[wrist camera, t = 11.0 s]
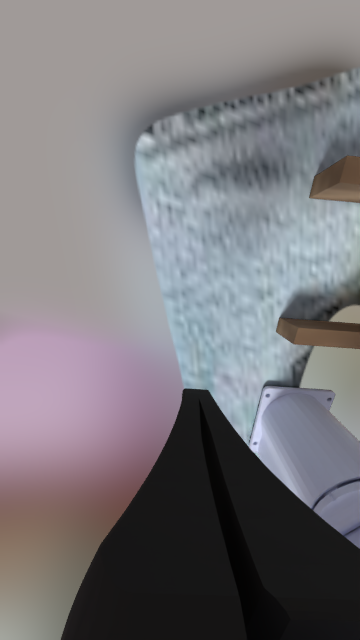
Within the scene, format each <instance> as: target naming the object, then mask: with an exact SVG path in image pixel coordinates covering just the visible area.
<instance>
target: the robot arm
mask: <svg viewBox="0 0 360 640" xmlns="http://www.w3.org/2000/svg"><path fill="white" fill-rule="evenodd" d="M266 394H268V395H266ZM334 397H335V393H334V392H333V391H331V390H323V389H307V388H292V387H277V386H266V387H264V388H263V392H262V396H261V400H260V403H259V407H258V411H257V415H256V419H255V423H254V427H253V431H252V435H251V439H250V443H249V447H248V446H247V444H246V443H245V442H244V441H243V439H242V438H241V437H240V436H239V434H238V433H237V432H236V431H235V429H234V428H233V427H232V425H231V424H230V422H229V421H228V420H227V418H226V417H225V415H224V414H223V413H222V411H221V410H220V408H219V407H218V405H217V403H216V402H215V400H214V399H213V397H212V395H211V394H210V392H209V391H208V390H201V389H184V390H183V394H182V402H181V406H180V410H179V412H178V415H177V419H176V421H175V424H174V426H173V428H172V431H171V433H170V435H169V438H168V440H167V442H166V444H165V446H164V448H163V450H162V452H161V454H160V456H159V457H158V459H157V461H156V463H155V465H154V466H153V468H152V470H151V472H150V473H149V475H148V477H147V478H146V480H145V481H144V483H143V484H142V486H141V488H140V489H139V491H138V492H137V494H136V495H135V497H134V498H133V500H132V501H131V503H130V504H129V506H128V507H127V509H126V510H125V512H124V513H123V514H122V516H121V517H120V519H119V520H118V521H117V523H116V524H115V525H114V527H113V528H112V529H111V531H110V532H109V534H108V535H107V536H106V538H105V539H104V540H103V542H102V543H101V545H100V546H99V548H98V551H97V552H96V554H95V557H94V559H93V560H92V562H91V565H90V567H89V569H88V571H87V573H86V575H85V577H84V579H83V581H82V584H81V586H80V588H79V590H78V593H77V595H76V598H75V600H74V603H73V605H72V608H71V610H70V613H69V616H68V619H67V622H66V625H65V628H64V631H63V634H62V637H61V640H360V441H359V440H358V439H357V438H356V437H355V436H354V435H353V434H352V433H351V432H350V431H349V430H348V429H347V428H346V427H345V426H344V425H342V424H341V422H339V421H338V420H337V419H336V418H335V417H334V416H333V415H332V414H331V413H330V412H329V410H330V407H331V404H332V402H333V399H334ZM254 452H258V455H259V457H260V459H261V460H260V459H259V458H258V457H257V456H256V455H255V454H254Z"/></svg>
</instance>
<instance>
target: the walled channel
mask: <svg viewBox="0 0 360 640" xmlns="http://www.w3.org/2000/svg"><path fill="white" fill-rule="evenodd" d="M309 198H314V199H324V200H335V201H346V202H356V203H360V157H356V156H346V157H344V158H343V159H341V160H340V161H338V162H337V163H335V164H333V165H332V166H330V167H329V168H327V169H326V170H324V171H323V172H321V173H319V174H318V175H316V176H315V177H314V181H313V185H312V189H311V193H310V197H309ZM276 332H277V333H278V334H280V335H281V336H283V337H284V338H286V339H287V340H288V341H290V342H291V343H293V344H298V345H312V346H327V347H341V348H355V349H360V324H355V323H342V322H329V321H316V320H302V319H289V318H279V322H278V326H277V330H276Z"/></svg>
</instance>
